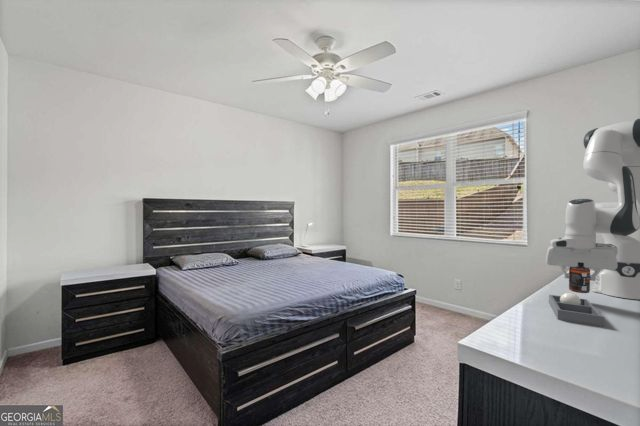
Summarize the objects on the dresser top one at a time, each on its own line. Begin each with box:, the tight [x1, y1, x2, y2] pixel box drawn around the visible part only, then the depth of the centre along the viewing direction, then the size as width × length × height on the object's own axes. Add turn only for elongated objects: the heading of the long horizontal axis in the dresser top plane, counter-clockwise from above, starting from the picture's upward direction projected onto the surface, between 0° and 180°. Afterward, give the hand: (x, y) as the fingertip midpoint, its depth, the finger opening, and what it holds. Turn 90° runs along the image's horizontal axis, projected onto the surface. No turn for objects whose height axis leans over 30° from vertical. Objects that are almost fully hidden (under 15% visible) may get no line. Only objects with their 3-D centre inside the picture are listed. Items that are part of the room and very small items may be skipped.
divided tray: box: [548, 294, 604, 328], centre depth 100 cm, size 20×11×4 cm, turn 149°
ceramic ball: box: [560, 292, 581, 305], centre depth 104 cm, size 6×6×6 cm
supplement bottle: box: [568, 262, 591, 294], centre depth 112 cm, size 6×6×11 cm
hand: (579, 279), depth 112 cm, fingers closed on supplement bottle, 6 cm apart
